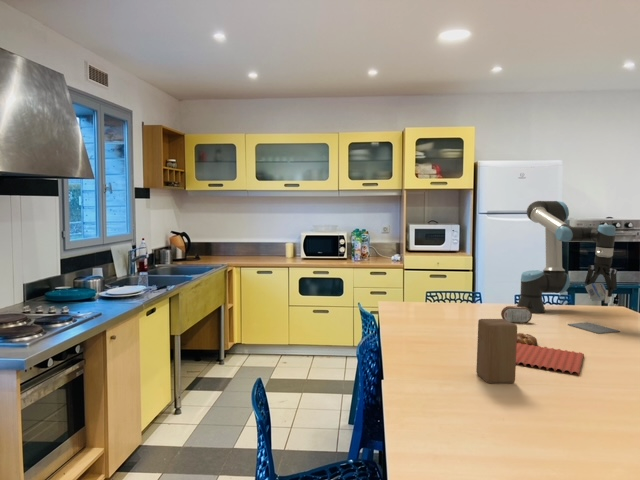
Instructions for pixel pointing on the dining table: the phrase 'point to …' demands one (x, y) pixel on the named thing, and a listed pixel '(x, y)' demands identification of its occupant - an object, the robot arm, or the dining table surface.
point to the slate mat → (593, 328)
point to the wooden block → (496, 350)
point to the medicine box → (596, 291)
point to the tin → (516, 314)
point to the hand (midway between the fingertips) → (598, 300)
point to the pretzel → (526, 339)
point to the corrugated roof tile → (549, 358)
